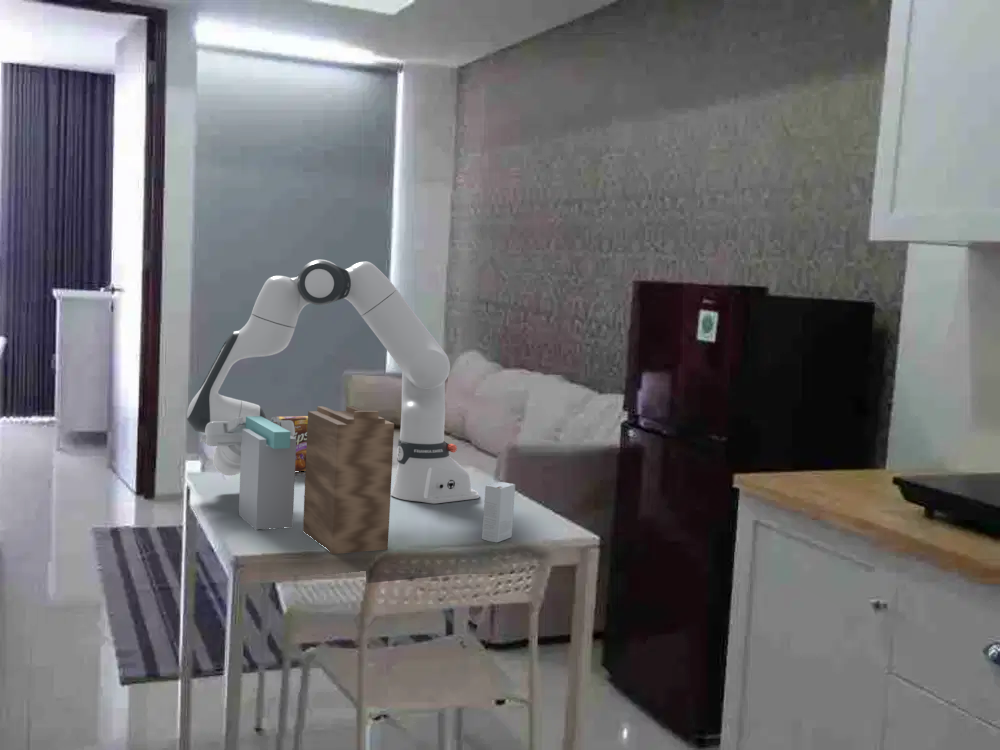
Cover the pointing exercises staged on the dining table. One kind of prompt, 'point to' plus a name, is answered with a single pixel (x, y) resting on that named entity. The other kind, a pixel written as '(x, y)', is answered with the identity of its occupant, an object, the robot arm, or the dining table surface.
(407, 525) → the dining table surface
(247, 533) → the dining table surface
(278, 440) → the rail
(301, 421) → the candy box
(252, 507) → the rest block
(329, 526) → the notched wooden block
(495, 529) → the skincare box
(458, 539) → the dining table surface
